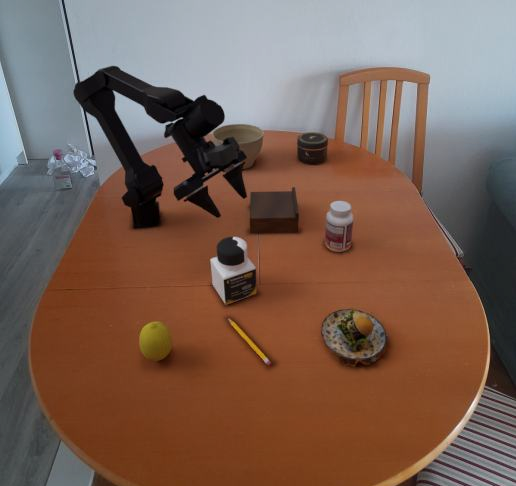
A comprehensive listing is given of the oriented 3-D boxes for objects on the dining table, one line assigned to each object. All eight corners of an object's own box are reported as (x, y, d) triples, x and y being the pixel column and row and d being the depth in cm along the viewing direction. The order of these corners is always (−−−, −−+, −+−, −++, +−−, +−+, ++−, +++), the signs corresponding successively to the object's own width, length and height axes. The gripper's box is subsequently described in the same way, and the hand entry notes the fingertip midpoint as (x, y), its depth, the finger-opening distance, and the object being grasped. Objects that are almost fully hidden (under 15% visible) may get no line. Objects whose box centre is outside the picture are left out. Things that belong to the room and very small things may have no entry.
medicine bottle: (225, 306, 89) (222, 258, 84) (212, 284, 95) (207, 238, 89) (257, 294, 92) (255, 247, 86) (242, 274, 98) (240, 229, 92)
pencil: (268, 366, 77) (268, 364, 76) (226, 320, 86) (226, 317, 86) (271, 364, 77) (271, 361, 77) (229, 318, 87) (229, 315, 86)
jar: (292, 162, 145) (293, 141, 142) (301, 150, 153) (302, 130, 150) (322, 167, 142) (323, 145, 138) (330, 154, 150) (331, 133, 146)
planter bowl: (264, 174, 138) (263, 142, 133) (212, 175, 139) (209, 143, 133) (264, 152, 152) (263, 123, 147) (217, 153, 153) (215, 123, 148)
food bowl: (334, 307, 89) (337, 278, 85) (394, 329, 83) (399, 299, 80) (309, 349, 80) (311, 319, 76) (374, 378, 74) (379, 346, 71)
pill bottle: (342, 235, 110) (346, 196, 104) (355, 249, 105) (360, 209, 99) (320, 240, 108) (322, 201, 103) (332, 255, 103) (335, 215, 98)
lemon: (167, 372, 76) (161, 339, 72) (137, 367, 77) (130, 334, 73) (179, 347, 81) (174, 314, 77) (150, 342, 82) (144, 310, 78)
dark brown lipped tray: (250, 233, 111) (249, 214, 108) (250, 205, 123) (250, 187, 120) (298, 232, 111) (298, 213, 108) (294, 205, 122) (294, 187, 120)
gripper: (182, 145, 82) (228, 216, 83) (242, 115, 96) (280, 176, 97) (154, 167, 90) (196, 232, 91) (213, 136, 103) (249, 193, 104)
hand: (232, 207), depth 96 cm, fingers open, 9 cm apart
